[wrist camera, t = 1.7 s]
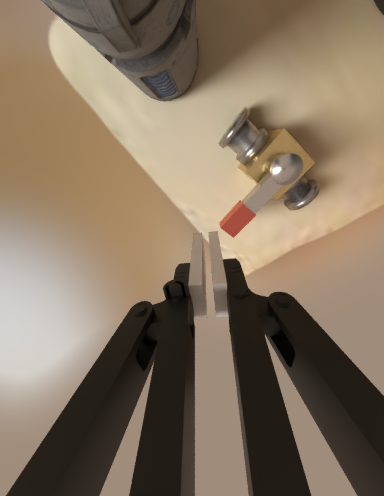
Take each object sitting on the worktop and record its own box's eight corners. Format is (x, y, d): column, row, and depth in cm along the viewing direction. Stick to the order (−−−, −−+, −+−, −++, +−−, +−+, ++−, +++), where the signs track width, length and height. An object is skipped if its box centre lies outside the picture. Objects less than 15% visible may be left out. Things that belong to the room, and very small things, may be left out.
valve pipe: (215, 146, 32) (219, 147, 25) (243, 107, 29) (256, 95, 22) (280, 206, 37) (299, 221, 30) (310, 178, 34) (339, 187, 27)
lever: (284, 146, 24) (290, 146, 22) (302, 165, 25) (310, 167, 24) (217, 221, 30) (217, 225, 29) (233, 234, 31) (236, 239, 30)
